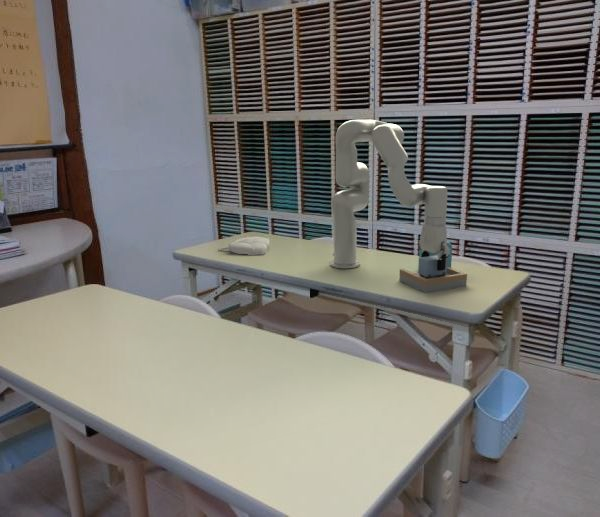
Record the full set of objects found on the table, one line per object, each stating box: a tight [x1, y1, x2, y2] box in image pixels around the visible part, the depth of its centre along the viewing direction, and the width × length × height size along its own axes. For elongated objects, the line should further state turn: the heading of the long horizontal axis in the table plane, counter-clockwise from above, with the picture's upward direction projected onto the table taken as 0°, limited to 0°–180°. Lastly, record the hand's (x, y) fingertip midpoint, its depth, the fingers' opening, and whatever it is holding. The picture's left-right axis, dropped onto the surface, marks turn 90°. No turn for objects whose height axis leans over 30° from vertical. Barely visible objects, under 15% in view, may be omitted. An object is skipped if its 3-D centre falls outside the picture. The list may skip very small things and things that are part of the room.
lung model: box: [217, 236, 271, 256], centre depth 239 cm, size 7×17×25 cm
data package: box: [418, 240, 453, 268], centre depth 199 cm, size 12×4×12 cm, turn 85°
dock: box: [399, 267, 468, 294], centre depth 184 cm, size 16×18×4 cm
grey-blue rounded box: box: [417, 255, 448, 279], centre depth 183 cm, size 6×9×7 cm, turn 113°
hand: (432, 266), depth 183 cm, fingers open, 9 cm apart
